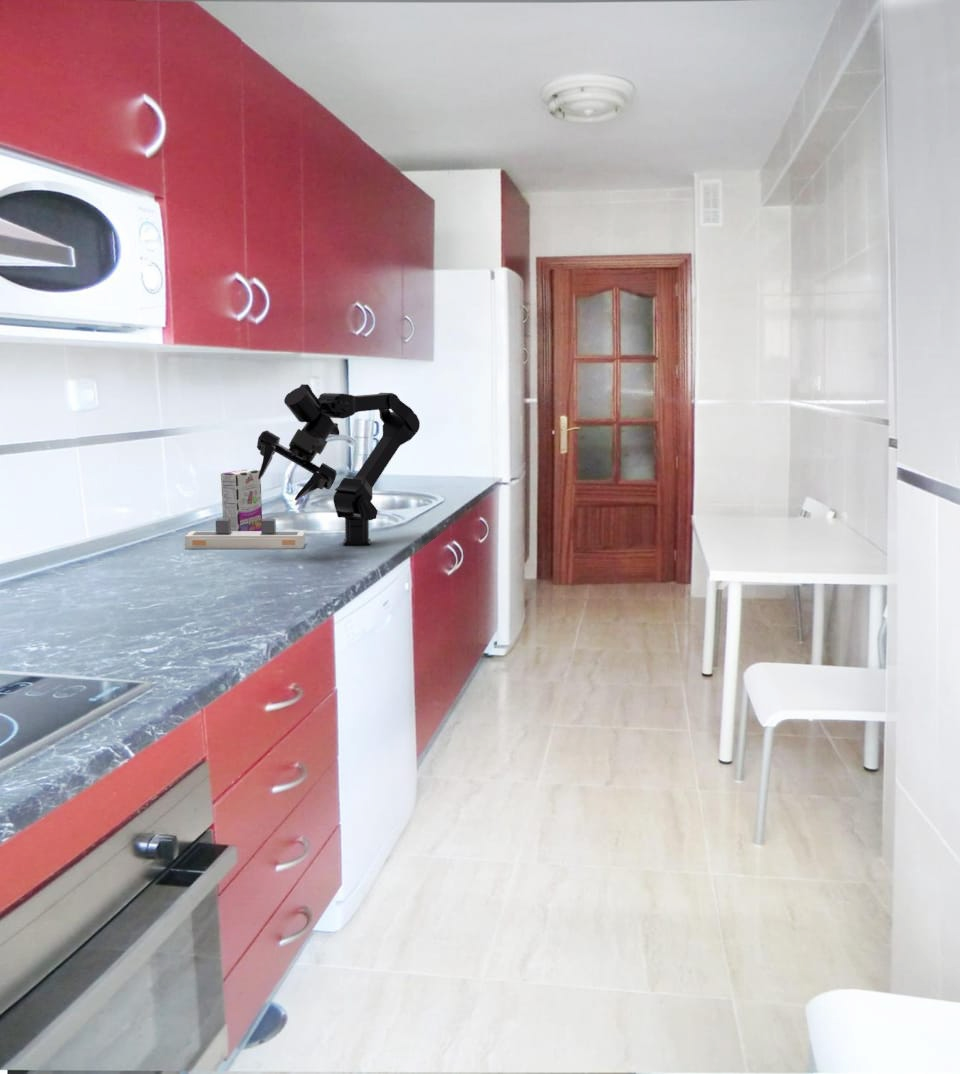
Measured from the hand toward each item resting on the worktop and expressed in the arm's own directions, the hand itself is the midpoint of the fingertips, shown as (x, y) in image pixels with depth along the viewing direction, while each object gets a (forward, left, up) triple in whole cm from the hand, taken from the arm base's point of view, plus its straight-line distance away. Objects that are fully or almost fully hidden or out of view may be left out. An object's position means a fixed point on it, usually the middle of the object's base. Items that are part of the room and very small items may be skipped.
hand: (277, 489), depth 204 cm
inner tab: (-15, -4, -12) cm, 20 cm away
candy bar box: (-31, -12, -16) cm, 37 cm away
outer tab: (-15, -14, -12) cm, 24 cm away
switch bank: (-15, -9, -15) cm, 24 cm away
